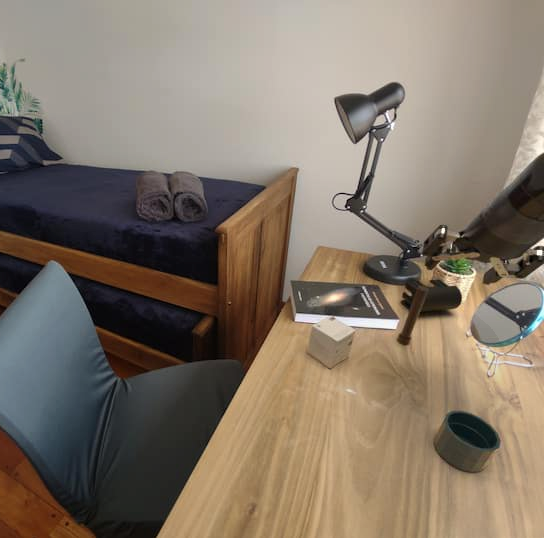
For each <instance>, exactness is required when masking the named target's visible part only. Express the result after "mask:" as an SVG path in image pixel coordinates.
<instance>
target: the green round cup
mask: <svg viewBox="0 0 544 538" xmlns="http://www.w3.org/2000/svg"><path fill="white" fill-rule="evenodd" d="M499 435H500V434H499V432H497V431H496V429H495V428H494V427H493V426H492V425H491V424H490V423H489V422H488V421H486V420H485V419H483V418H482V417H480V416H478V415H476V414H473V413H472V412H468V411H465V410H451V411H449V412H447V413H446V414H445V416H444V418H443V420H442V421H441V423H440V425H439V426H438V429H437V431H436V433H435V435H434V437H433V443H434V448H435V450H436V452H437V453H438V454H439V456H440V457H441V458H442V459H443V460H444V461H445V462H446V463H448V464H449V465H450V466H451V467H453V468H456V469H458V470H460V471H463V472H467V473H477V472H480V471H482V470H484V469H485V468H486V467H487V466H488V465H489V463H490V462H491V460H492V459H493V458H494V456H495V455H496V453H497V452H498V450H499V449H500V447H501V443H502V440H501V438H500V436H499Z"/></svg>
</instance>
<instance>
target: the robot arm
mask: <svg viewBox="0 0 544 538" xmlns="http://www.w3.org/2000/svg"><path fill="white" fill-rule="evenodd" d="M448 228H449V225H446V224H440V225H438V226H437V227H436V228H435V229H434V230H433V231H432V233H430V235H428V236H427V237H426V238H425V240H424V241H423V247H422V250H421V255H422V256H424V257H425V260H424V267H426V270H427V271H433V270H434V269H435V268H436V267H437V265H438V264H440V263H441V261H444V260H450V261H456V260H461V259H465V260H469V261H470V260H471V261H476V262H479V263H483V264H488V263H489V264H492V267H490V268H489V269H488V270H487V271H485V272H484V274H483V277H482V284H483V285H487V286H489V285H490V284H491V285H492V284H497V283H498V282H499V281H501V280H502V279H503V278H508V277H510V276H514V277H515V279H517V280H518V279H519V280H522V279H526V278H527V277H528V276H530V275H531V274H532V273H534V272H535V271H537V270H538V269H539V268H541V267H542V266H543V265H544V245H537V244H538V243H540V242H541V241H543V239H544V152H542V153H540V154H539V155H537V156H536V157H535V158H534V159H533V160H531V162H530V163H528V165H527V166H526V167H525V168H524V169H523V170H522V171H521V172H520V173H519V174H518V175H517V176H516V178H515V179H513V181H511V183H509V185H507V186H506V187H504V188H503V189H502V190H501V191H499V192H498V193H497V194H496V195H495V196H494V198H493V199H492V200H491V201H490V202H489V203H488V204H487V205H486V206H485V207H484V208H483V209H482V210H481V211H480V212H479V213H478V215H477V216H476V217H474V219H472V221H470V223H469V224H468V226H467V227H466V228H465V229H463V230H460V231H458V232H457V231H452V230H449V229H448ZM536 245H537V246H536ZM457 250H458V251H457ZM443 251H445V252H443ZM519 258H520V259H519ZM515 259H519V260H518V261H517V262H516V263H511V261H510V260H515Z"/></svg>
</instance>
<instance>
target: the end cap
mask: <svg viewBox="0 0 544 538" xmlns="http://www.w3.org/2000/svg"><path fill="white" fill-rule="evenodd" d="M428 282H429V283H431V284H432V285H433V286H430V285H429V286H428V285H425V284H424V283H422V282H421V281H420V280H411V281H407V282H406V283H405V286H404V289H406V290H407V291H408V292H409V293H410V294H411V295H409V294H408V293H407V292H406V291H403V292H402V295H401V298H402V299H401V301H400V302H401V305H403V306H404V307H405V308H406V309H407V310H408V311H409V310H410V308H411V305H412V302H413V300H414V297H415V294H416V292H417V289H418V287H419V286H425V287H427V288H428V289H429V290H428V293H427V295H426V298H425V300H424V303H423V306H422V308H421V311H420V313H424V312H435V311H436V312H437V311H448V310H455V309H457V308H459V307H460V306H461V304H462V301H463V295H462V292H461V290H460V288H459V287H458V286H456V285H448V284H447V283H445V282H444V281H443V280H442V279H440V278H438V279H437V278H436V279H429V281H428Z"/></svg>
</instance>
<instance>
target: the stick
mask: <svg viewBox="0 0 544 538" xmlns="http://www.w3.org/2000/svg"><path fill="white" fill-rule="evenodd" d="M428 290H429V289H428V288H427V287H425V286H419V287H418V289H417V292H416V294H415V297H414V300H413V302H412V305H411V308H410V310H408V313H407V316H406V319H405V321H404V323H403V326H402V330H401V332H400V333H398V336H397V338H396V341H397V343H398V344H400V345H402V346H409V345H410V343H411V341H412V333H413V331H414V328H415V326H416V323H417V320H418V317H419V316H420V313H421V312H420V311H421V308H422V306H423V303H424V300H425V298H426V295H427V293H428Z"/></svg>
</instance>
